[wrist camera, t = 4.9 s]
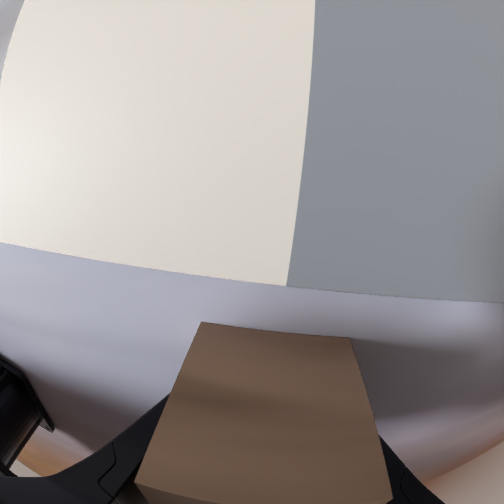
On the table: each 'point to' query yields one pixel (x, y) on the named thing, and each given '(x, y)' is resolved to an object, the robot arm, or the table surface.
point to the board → (262, 140)
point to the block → (266, 424)
